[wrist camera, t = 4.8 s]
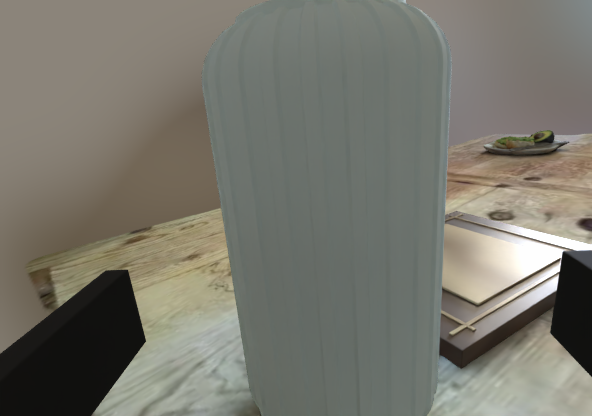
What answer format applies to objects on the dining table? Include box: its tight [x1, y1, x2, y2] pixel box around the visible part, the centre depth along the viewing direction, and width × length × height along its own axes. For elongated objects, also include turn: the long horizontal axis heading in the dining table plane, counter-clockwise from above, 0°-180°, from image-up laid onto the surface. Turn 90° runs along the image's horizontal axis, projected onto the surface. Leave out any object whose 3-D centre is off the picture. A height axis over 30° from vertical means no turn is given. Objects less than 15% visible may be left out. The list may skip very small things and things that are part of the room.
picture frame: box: [439, 211, 592, 368], centre depth 37 cm, size 24×18×2 cm
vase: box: [202, 0, 452, 416], centre depth 20 cm, size 12×12×22 cm
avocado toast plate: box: [484, 130, 569, 155], centre depth 93 cm, size 19×18×5 cm
